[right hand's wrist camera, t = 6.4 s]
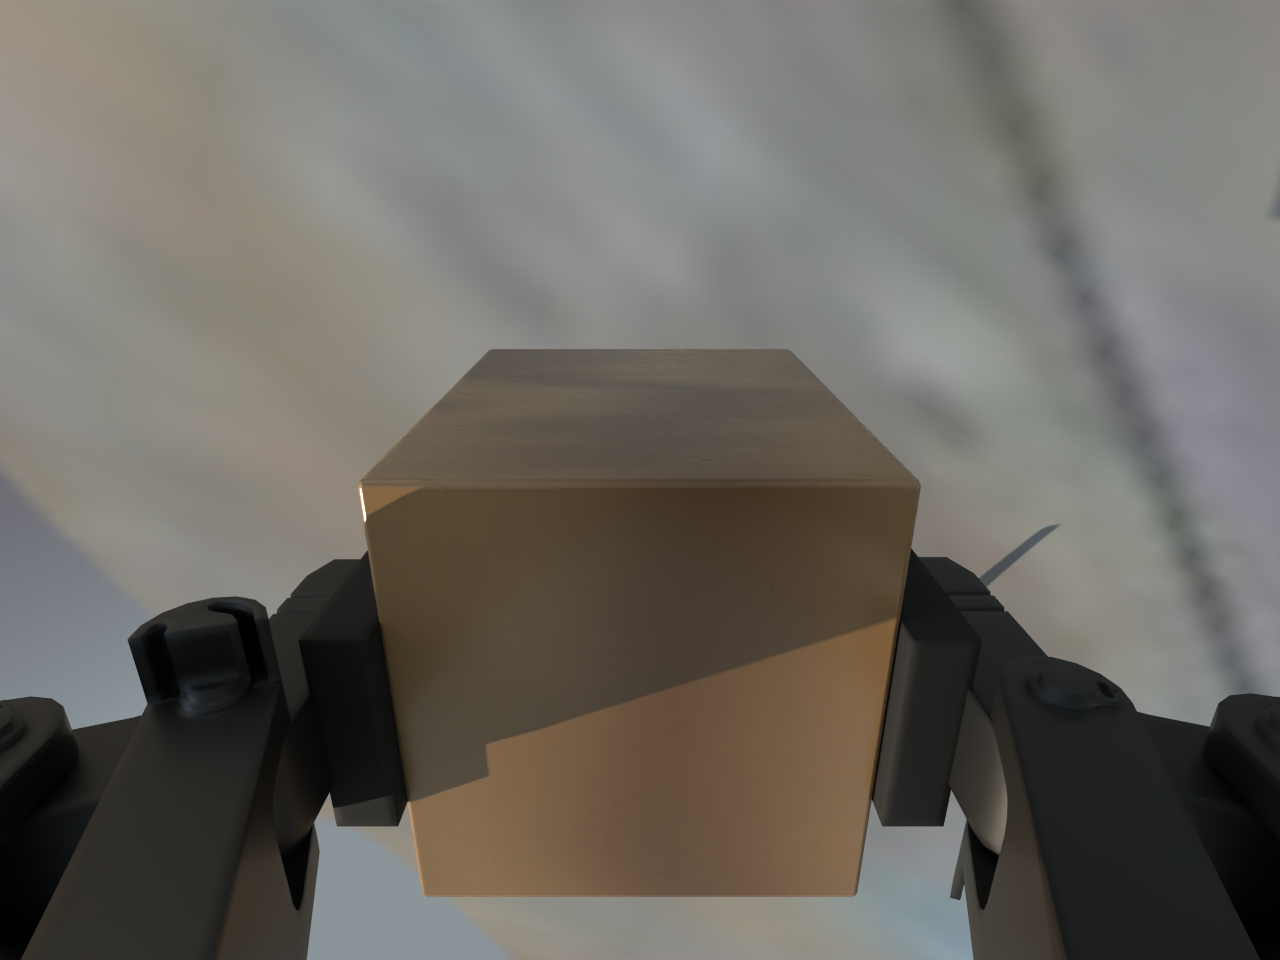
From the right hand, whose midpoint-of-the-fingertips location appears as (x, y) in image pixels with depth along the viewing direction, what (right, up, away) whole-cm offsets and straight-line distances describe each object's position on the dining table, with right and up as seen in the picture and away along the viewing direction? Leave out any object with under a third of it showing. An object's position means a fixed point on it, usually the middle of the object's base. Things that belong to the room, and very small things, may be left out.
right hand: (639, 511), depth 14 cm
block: (0, 0, +1) cm, 1 cm away
